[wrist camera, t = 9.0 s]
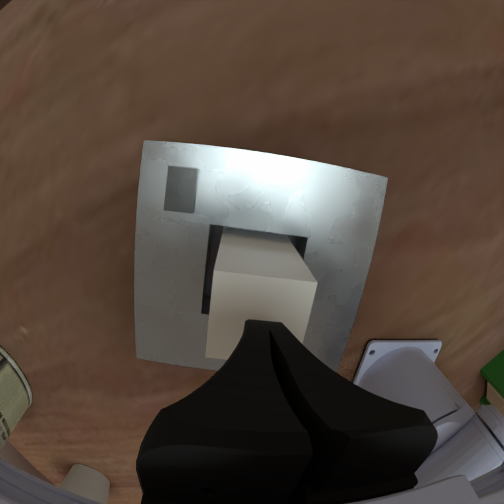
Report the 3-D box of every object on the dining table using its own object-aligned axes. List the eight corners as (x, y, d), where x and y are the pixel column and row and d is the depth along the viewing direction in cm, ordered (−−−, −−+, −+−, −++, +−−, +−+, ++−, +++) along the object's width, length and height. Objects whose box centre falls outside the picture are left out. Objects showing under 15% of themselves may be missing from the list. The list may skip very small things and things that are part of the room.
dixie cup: (77, 483, 29) (60, 531, 19) (54, 452, 26) (29, 505, 17) (127, 495, 29) (114, 549, 19) (107, 466, 26) (87, 528, 17)
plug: (276, 293, 20) (296, 365, 13) (216, 286, 20) (205, 357, 12) (286, 235, 19) (317, 282, 12) (223, 227, 19) (213, 270, 11)
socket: (326, 358, 22) (336, 381, 20) (145, 339, 21) (134, 362, 18) (371, 175, 19) (391, 178, 16) (155, 143, 18) (141, 139, 15)
